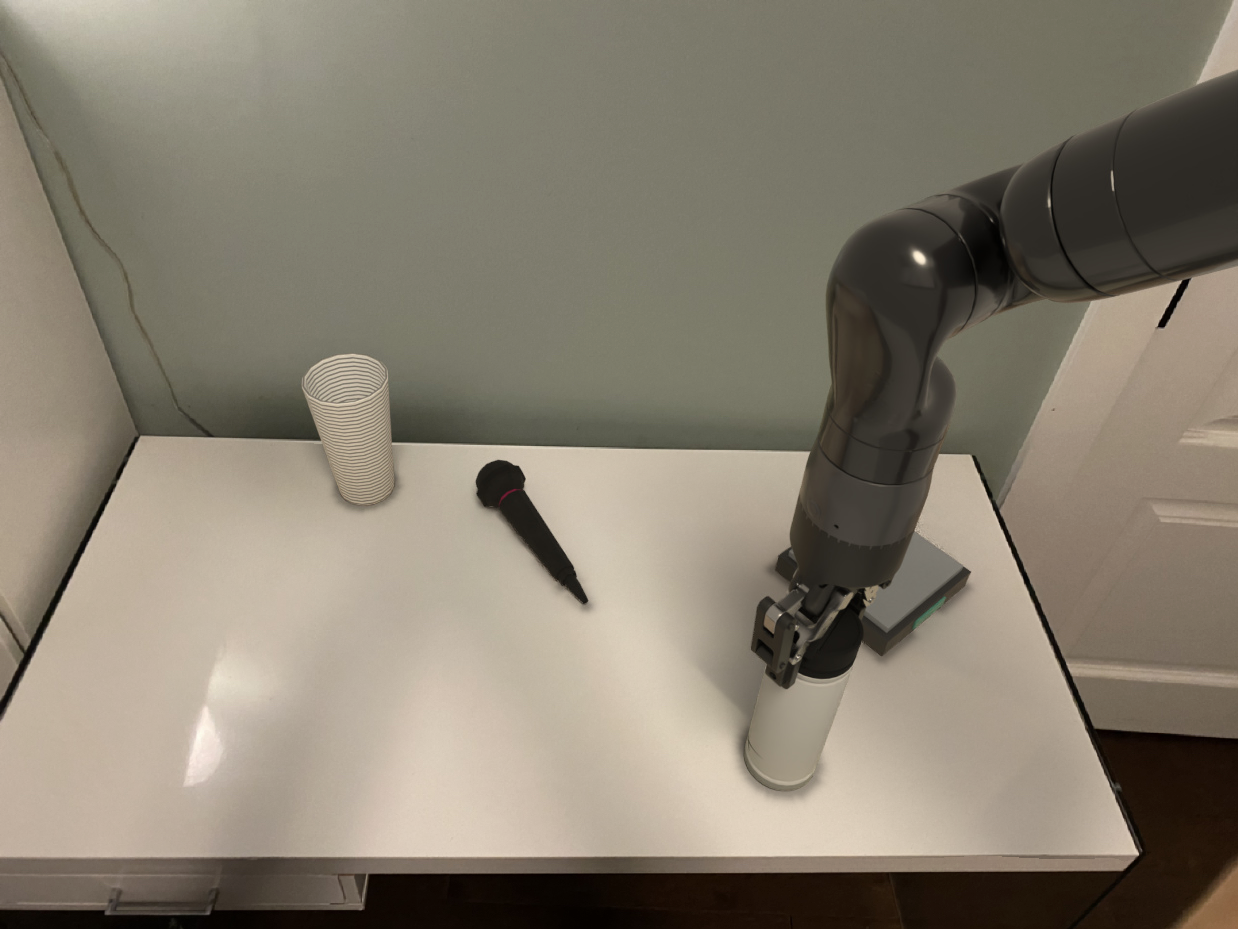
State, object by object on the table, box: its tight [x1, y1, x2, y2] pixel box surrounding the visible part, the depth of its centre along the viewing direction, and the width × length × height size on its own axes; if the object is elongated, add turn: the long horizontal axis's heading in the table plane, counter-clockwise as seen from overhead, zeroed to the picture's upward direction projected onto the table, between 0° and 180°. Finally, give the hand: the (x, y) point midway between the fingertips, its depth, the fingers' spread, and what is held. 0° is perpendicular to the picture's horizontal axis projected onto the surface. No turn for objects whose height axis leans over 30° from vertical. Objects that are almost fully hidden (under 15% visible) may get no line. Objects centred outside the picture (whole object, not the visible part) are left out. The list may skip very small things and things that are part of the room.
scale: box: [774, 531, 972, 657], centre depth 94 cm, size 14×14×3 cm
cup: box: [301, 352, 395, 506], centre depth 97 cm, size 8×8×16 cm
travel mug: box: [743, 607, 864, 792], centre depth 73 cm, size 6×7×20 cm
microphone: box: [475, 459, 589, 605], centre depth 96 cm, size 6×6×20 cm
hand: (811, 653), depth 69 cm, fingers closed on travel mug, 6 cm apart
